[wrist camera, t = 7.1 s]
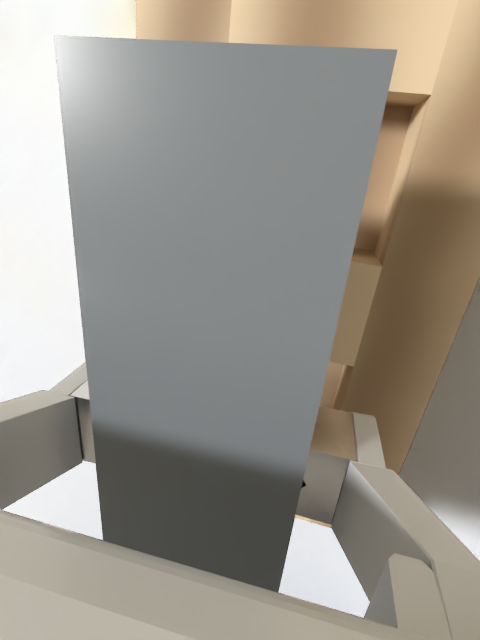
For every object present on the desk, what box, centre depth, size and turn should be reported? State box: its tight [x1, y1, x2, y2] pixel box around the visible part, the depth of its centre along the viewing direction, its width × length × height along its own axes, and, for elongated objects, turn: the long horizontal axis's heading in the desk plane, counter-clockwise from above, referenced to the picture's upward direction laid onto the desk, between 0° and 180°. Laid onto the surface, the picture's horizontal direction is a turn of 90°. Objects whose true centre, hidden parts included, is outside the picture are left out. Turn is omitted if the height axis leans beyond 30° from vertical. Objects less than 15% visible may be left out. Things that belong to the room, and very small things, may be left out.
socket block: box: [136, 0, 480, 528], centre depth 15 cm, size 12×22×4 cm, turn 174°
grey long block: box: [54, 36, 397, 592], centre depth 10 cm, size 4×14×6 cm, turn 175°
